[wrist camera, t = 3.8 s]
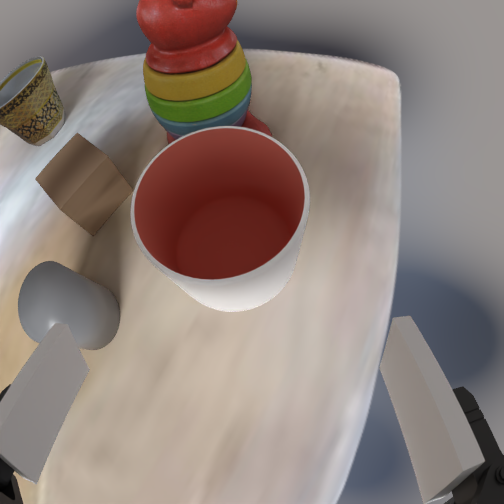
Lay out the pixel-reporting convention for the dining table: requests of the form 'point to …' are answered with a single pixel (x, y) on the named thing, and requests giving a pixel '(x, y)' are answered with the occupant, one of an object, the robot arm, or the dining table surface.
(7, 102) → the ceramic cup
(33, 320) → the grey rounded cylinder
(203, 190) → the cup
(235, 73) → the stacking bear
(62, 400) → the robot arm
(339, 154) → the dining table surface
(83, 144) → the walnut block
